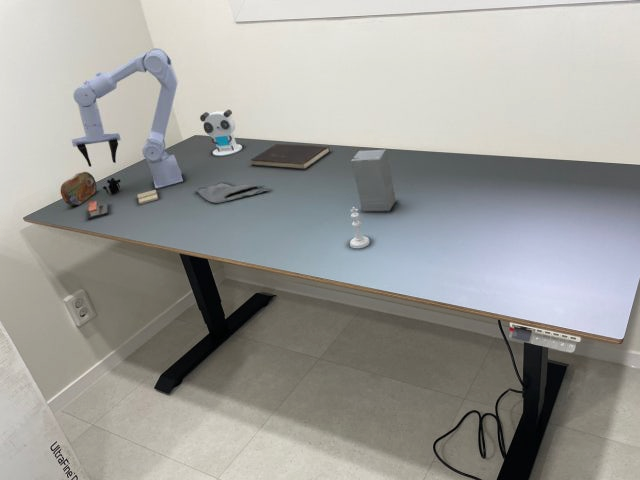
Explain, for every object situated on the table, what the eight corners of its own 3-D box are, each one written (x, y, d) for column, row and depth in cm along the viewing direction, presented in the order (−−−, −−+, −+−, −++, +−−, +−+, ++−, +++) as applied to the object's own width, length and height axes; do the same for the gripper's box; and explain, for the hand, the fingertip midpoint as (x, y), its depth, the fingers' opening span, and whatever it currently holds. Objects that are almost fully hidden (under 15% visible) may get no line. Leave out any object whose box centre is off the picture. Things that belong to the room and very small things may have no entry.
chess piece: (349, 240, 144) (343, 204, 138) (368, 237, 144) (362, 201, 138) (350, 249, 139) (343, 213, 134) (370, 246, 139) (364, 210, 134)
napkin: (156, 193, 191) (155, 189, 191) (158, 199, 186) (157, 195, 186) (138, 198, 190) (137, 194, 189) (139, 204, 185) (138, 200, 184)
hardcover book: (305, 169, 190) (303, 163, 189) (252, 165, 201) (250, 159, 200) (330, 152, 201) (328, 145, 200) (279, 149, 212) (277, 143, 211)
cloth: (184, 199, 183) (181, 193, 182) (213, 182, 192) (211, 176, 191) (244, 207, 170) (242, 201, 169) (272, 188, 180) (271, 182, 179)
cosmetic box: (396, 201, 159) (389, 147, 150) (388, 213, 153) (380, 158, 145) (368, 201, 162) (359, 148, 153) (359, 212, 156) (350, 158, 148)
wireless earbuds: (122, 188, 201) (117, 174, 198) (126, 188, 199) (121, 175, 197) (105, 196, 196) (100, 182, 193) (110, 197, 195) (104, 183, 192)
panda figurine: (206, 157, 216) (194, 118, 208) (218, 146, 226) (207, 108, 218) (235, 154, 214) (224, 115, 206) (246, 143, 223) (235, 105, 215)
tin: (73, 209, 190) (63, 186, 185) (66, 209, 191) (55, 186, 186) (100, 190, 202) (90, 167, 198) (92, 190, 203) (83, 168, 198)
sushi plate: (108, 205, 188) (104, 198, 186) (108, 214, 181) (104, 206, 180) (89, 211, 186) (85, 203, 185) (88, 220, 180) (85, 212, 178)
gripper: (113, 117, 191) (122, 156, 198) (66, 123, 184) (77, 163, 191) (117, 122, 185) (126, 162, 192) (69, 129, 179) (80, 170, 186)
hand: (102, 163), depth 191 cm, fingers open, 7 cm apart
